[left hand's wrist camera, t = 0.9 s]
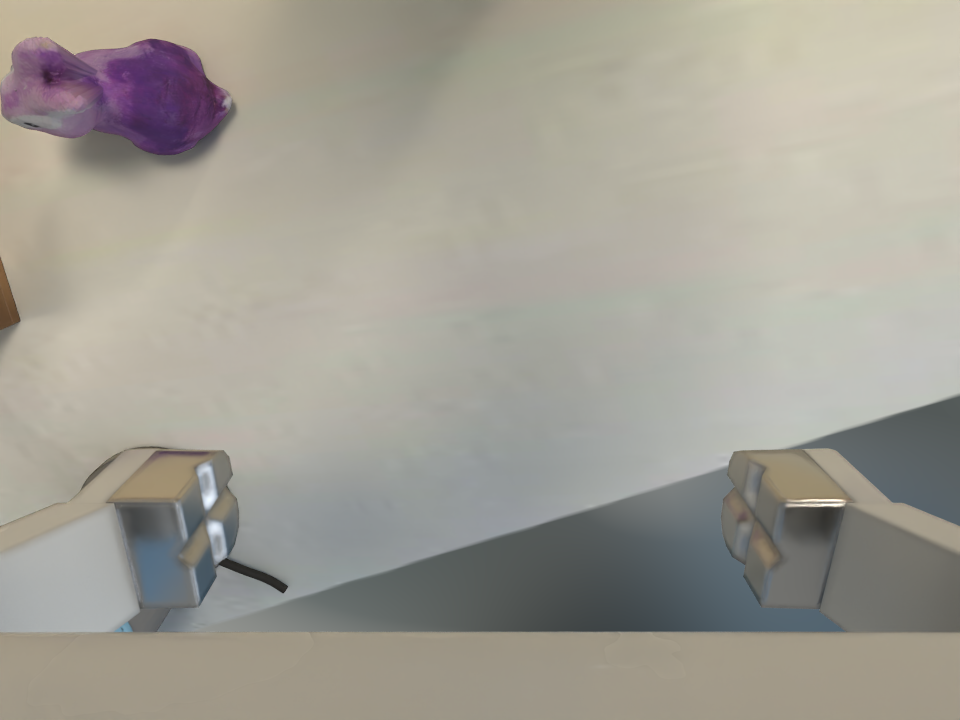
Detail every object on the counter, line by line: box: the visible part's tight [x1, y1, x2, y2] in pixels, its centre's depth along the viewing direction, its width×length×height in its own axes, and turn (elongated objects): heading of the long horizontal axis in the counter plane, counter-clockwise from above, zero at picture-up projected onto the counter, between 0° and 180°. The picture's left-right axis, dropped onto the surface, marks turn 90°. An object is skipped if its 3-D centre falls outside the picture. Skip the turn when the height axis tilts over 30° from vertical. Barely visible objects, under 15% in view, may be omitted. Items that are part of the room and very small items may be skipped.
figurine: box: [0, 37, 232, 155], centre depth 44 cm, size 9×10×15 cm
